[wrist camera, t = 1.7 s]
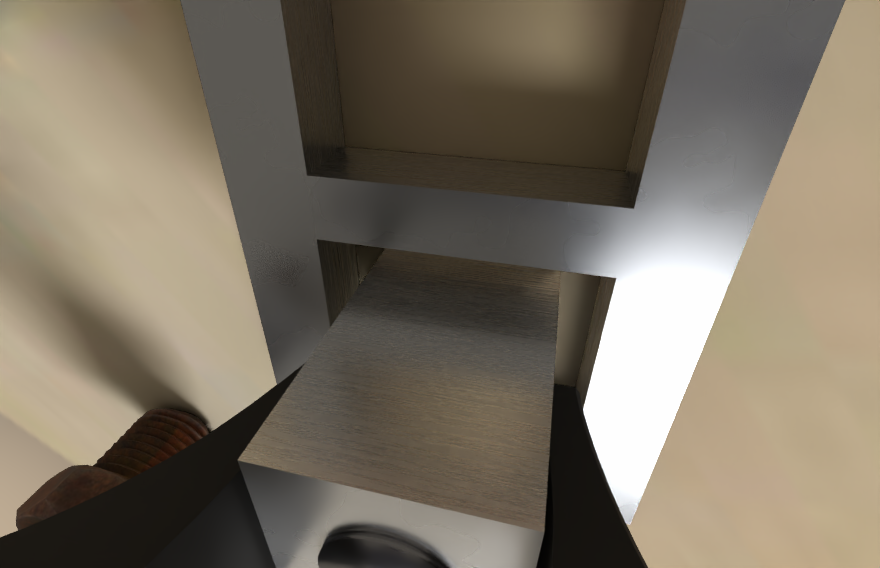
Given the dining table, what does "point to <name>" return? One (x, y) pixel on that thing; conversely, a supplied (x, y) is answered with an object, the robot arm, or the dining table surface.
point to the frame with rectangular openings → (518, 194)
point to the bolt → (115, 463)
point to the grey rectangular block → (416, 423)
